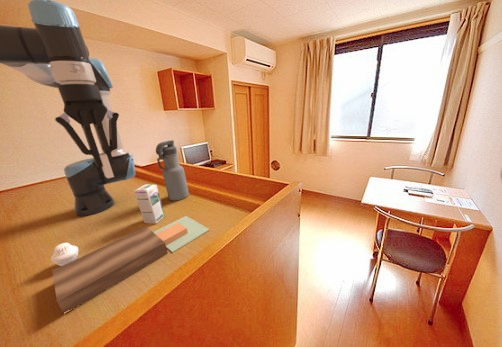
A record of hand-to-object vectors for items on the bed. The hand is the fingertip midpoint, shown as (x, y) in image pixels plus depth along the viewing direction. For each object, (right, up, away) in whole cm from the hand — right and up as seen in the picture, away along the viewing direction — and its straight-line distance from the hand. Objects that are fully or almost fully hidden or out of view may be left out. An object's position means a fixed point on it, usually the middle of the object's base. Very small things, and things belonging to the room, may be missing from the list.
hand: (109, 176), depth 55 cm
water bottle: (+3, -11, +45) cm, 46 cm away
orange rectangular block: (+12, -21, +13) cm, 27 cm away
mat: (+14, -20, +15) cm, 29 cm away
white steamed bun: (-16, -27, +5) cm, 31 cm away
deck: (+1, -26, +2) cm, 26 cm away
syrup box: (0, -18, +25) cm, 31 cm away
